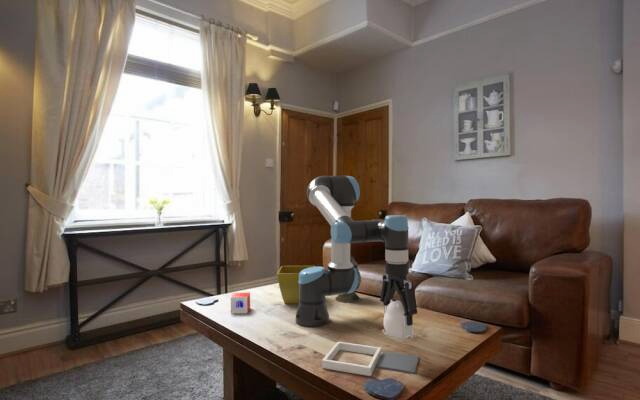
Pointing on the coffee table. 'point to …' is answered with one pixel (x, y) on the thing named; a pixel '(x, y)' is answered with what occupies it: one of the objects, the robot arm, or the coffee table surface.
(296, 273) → the flower pot
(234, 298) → the red and white cube
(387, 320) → the figurine
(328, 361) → the bin frame
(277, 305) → the coffee table surface
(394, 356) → the coaster pad
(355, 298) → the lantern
